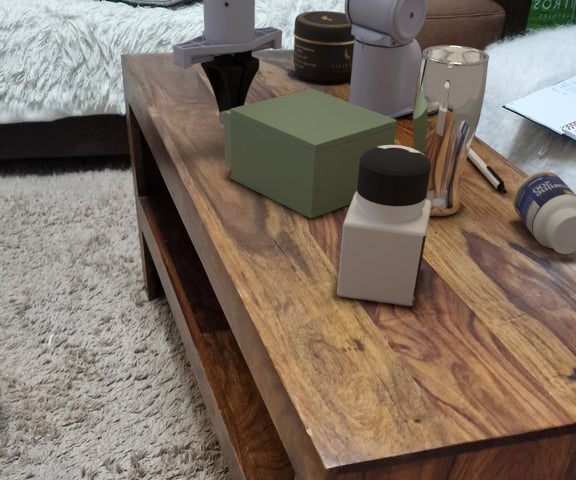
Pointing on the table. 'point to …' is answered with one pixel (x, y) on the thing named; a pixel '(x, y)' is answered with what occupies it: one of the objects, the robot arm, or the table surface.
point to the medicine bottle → (386, 227)
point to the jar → (323, 47)
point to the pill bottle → (548, 210)
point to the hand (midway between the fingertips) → (230, 123)
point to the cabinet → (305, 148)
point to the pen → (487, 171)
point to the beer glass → (448, 117)
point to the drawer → (227, 134)
